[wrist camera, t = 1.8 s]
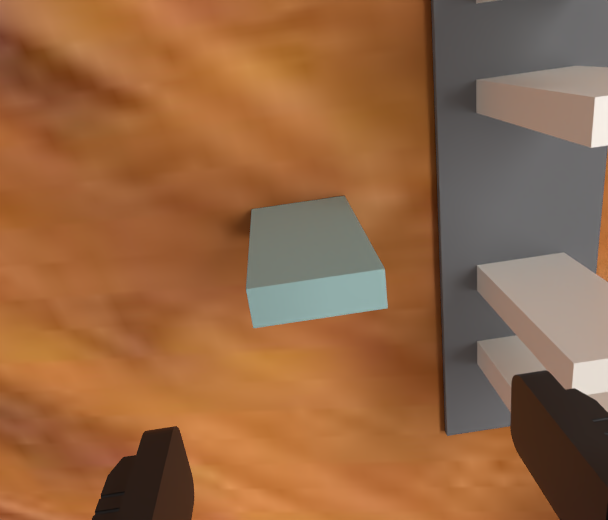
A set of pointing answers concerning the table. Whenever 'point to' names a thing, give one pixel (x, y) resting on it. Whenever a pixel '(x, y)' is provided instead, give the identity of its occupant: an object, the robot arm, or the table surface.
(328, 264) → the domino
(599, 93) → the domino
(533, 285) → the domino
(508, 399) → the domino
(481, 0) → the domino
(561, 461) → the robot arm
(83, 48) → the table surface
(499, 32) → the strip
